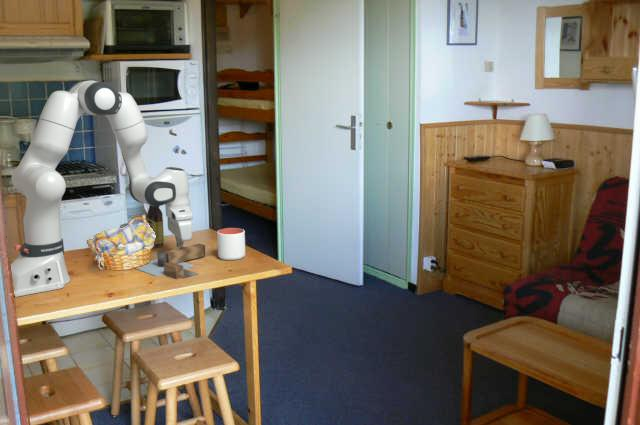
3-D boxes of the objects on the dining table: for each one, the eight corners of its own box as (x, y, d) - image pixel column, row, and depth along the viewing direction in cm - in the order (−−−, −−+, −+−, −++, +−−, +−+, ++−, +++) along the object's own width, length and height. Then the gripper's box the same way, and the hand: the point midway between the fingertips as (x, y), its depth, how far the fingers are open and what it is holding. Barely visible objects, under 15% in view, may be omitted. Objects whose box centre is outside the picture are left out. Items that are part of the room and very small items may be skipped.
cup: (247, 260, 256) (246, 233, 254) (219, 262, 254) (218, 235, 251) (243, 252, 265) (242, 227, 263) (216, 254, 263) (215, 228, 261)
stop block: (178, 279, 234) (177, 268, 233) (164, 274, 239) (163, 263, 238) (198, 274, 240) (197, 263, 239) (184, 269, 245) (183, 258, 244)
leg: (161, 266, 246) (160, 254, 245) (155, 265, 248) (155, 252, 247) (205, 255, 260) (204, 243, 259) (199, 253, 262) (199, 242, 261)
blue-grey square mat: (156, 276, 238) (156, 275, 237) (130, 267, 248) (130, 266, 248) (194, 266, 249) (194, 265, 249) (168, 257, 260) (168, 256, 260)
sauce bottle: (146, 245, 277) (143, 195, 273) (162, 243, 279) (159, 194, 275) (149, 249, 271) (146, 198, 267) (166, 247, 274) (163, 197, 269)
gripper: (162, 206, 265) (164, 241, 269) (176, 217, 248) (179, 255, 251) (178, 204, 268) (180, 239, 271) (194, 215, 250) (196, 252, 253)
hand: (180, 247), depth 261 cm, fingers closed
